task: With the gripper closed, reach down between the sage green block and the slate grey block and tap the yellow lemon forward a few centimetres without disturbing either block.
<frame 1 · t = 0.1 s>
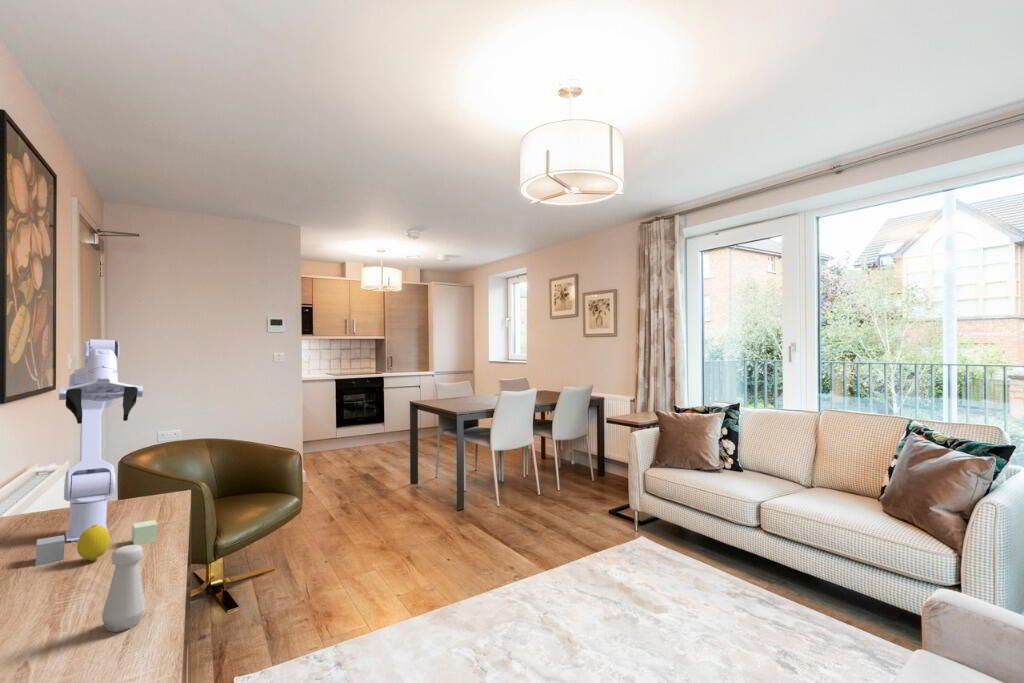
hand: (103, 419, 106), 32 cm above the sideboard, tool tilted 50°, fingers open, 7 cm apart
sage block: (144, 542, 120), on the sideboard
slate block: (49, 560, 108), on the sideboard
salt shaker: (123, 626, 82), on the sideboard
lemon: (92, 561, 108), on the sideboard
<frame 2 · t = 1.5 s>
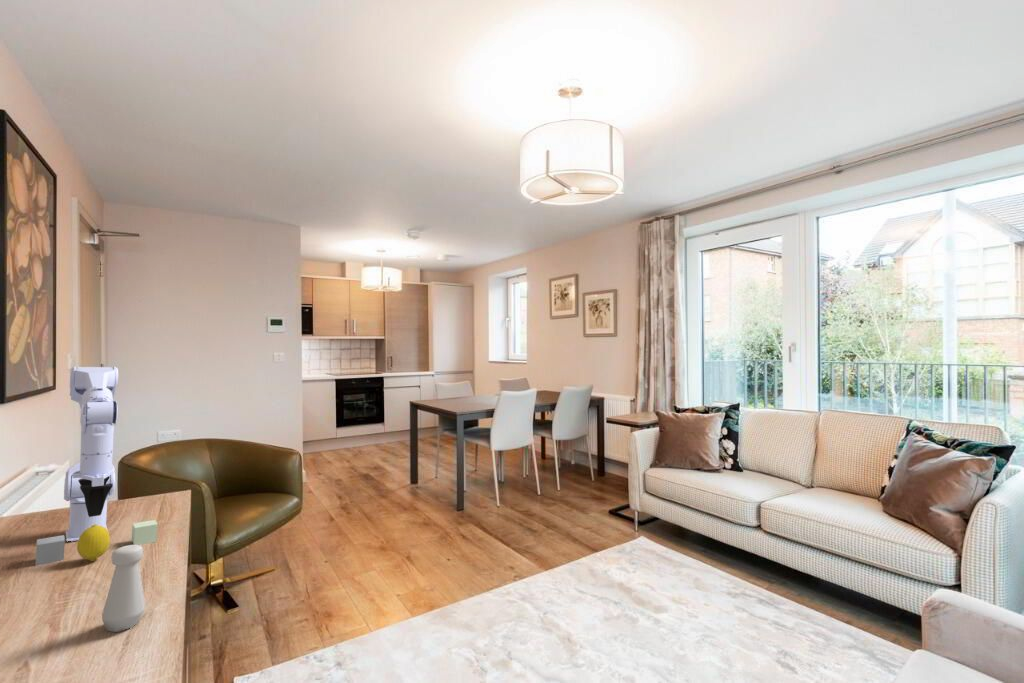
hand: (93, 512, 113), 9 cm above the sideboard, tool pointing down, fingers open, 7 cm apart
nothing on the sideboard moved.
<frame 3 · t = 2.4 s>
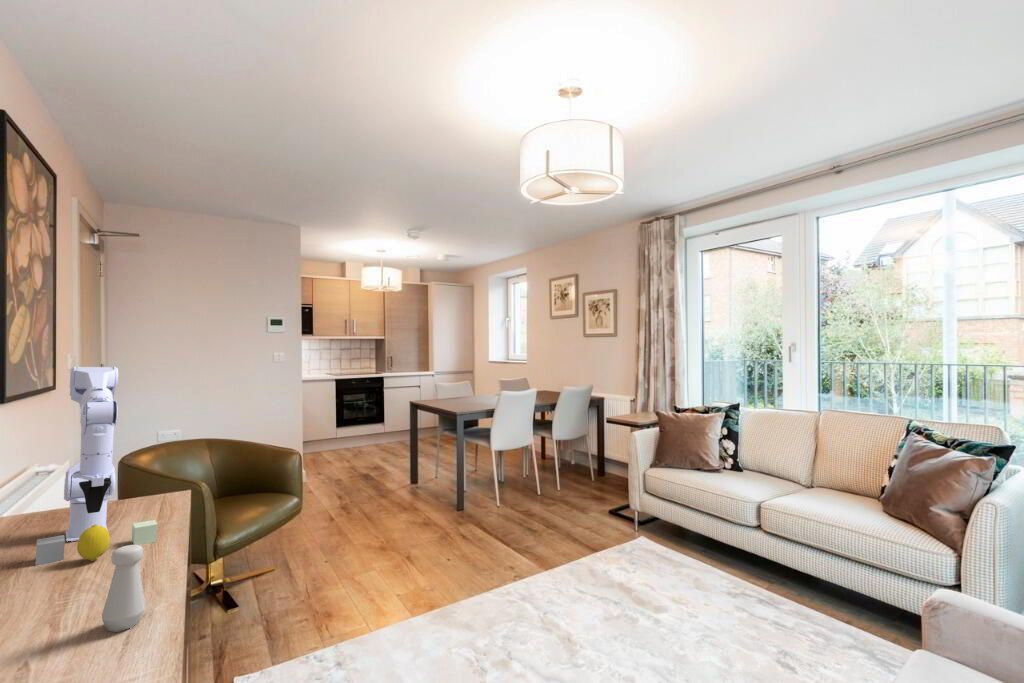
hand: (93, 512, 113), 9 cm above the sideboard, tool pointing down, fingers closed
nothing on the sideboard moved.
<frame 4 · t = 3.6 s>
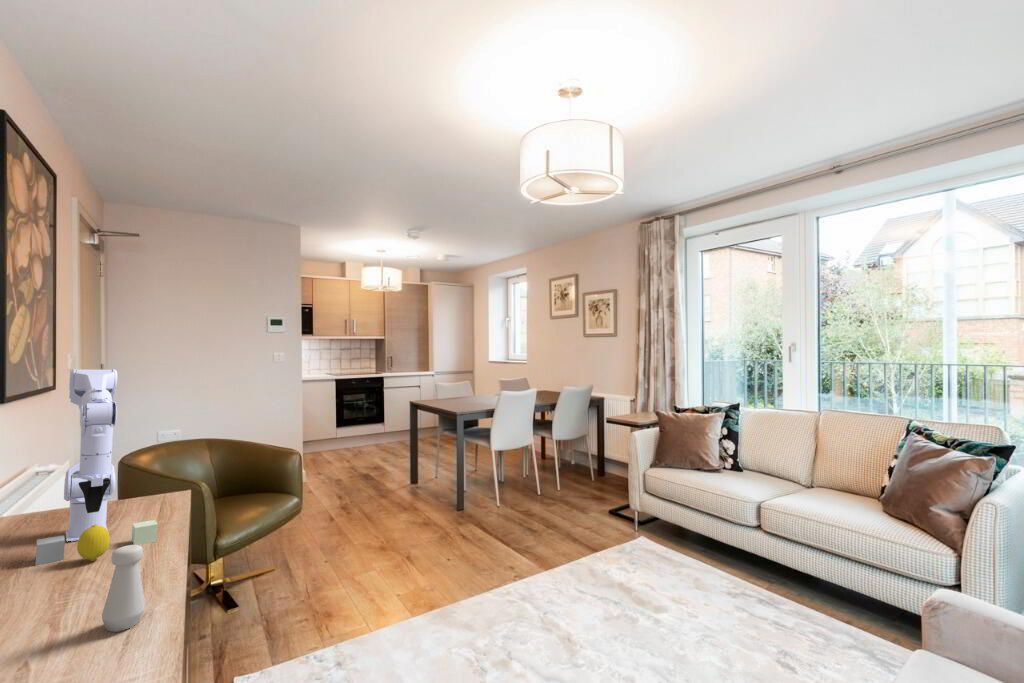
hand: (92, 511, 114), 9 cm above the sideboard, tool pointing down, fingers closed
nothing on the sideboard moved.
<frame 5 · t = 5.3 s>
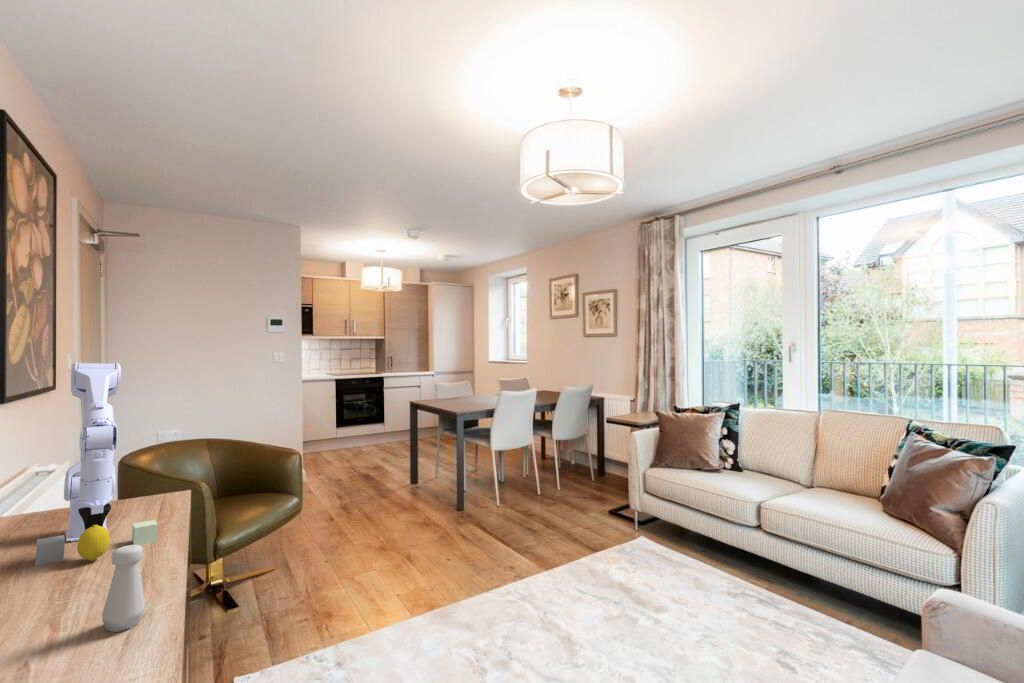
hand: (93, 538, 111), 4 cm above the sideboard, tool pointing down, fingers closed, pressing on lemon
lemon: (92, 562, 108), on the sideboard, touching gripper
everything else where it was.
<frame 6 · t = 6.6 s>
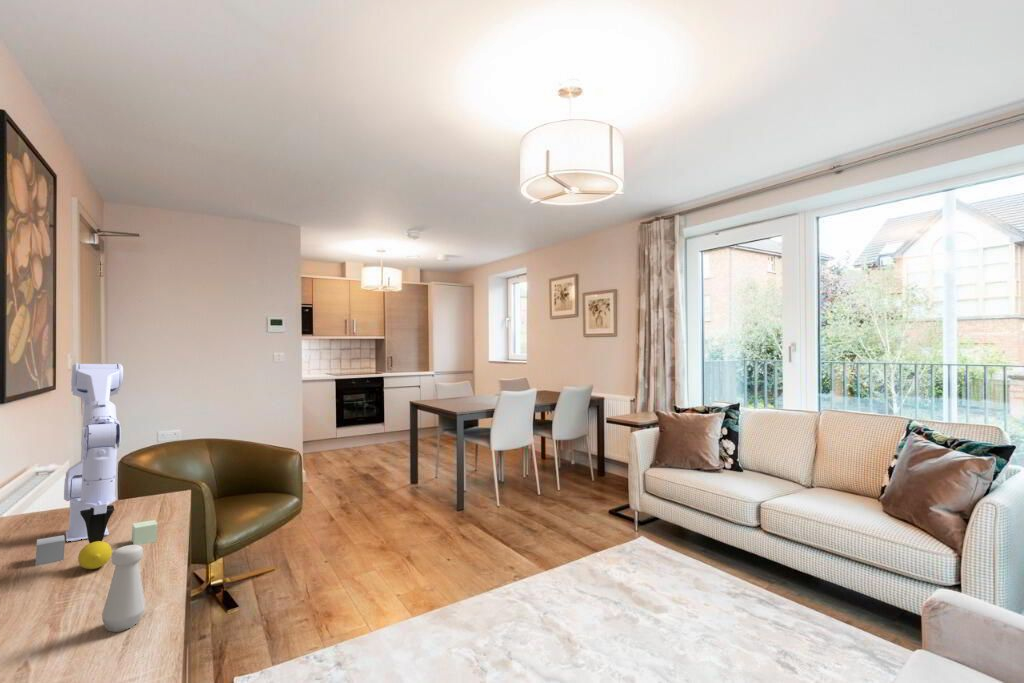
hand: (95, 542, 106), 5 cm above the sideboard, tool pointing down, fingers closed, pressing on lemon
lemon: (93, 553, 108), point 2 cm above the sideboard, touching gripper
everything else where it was.
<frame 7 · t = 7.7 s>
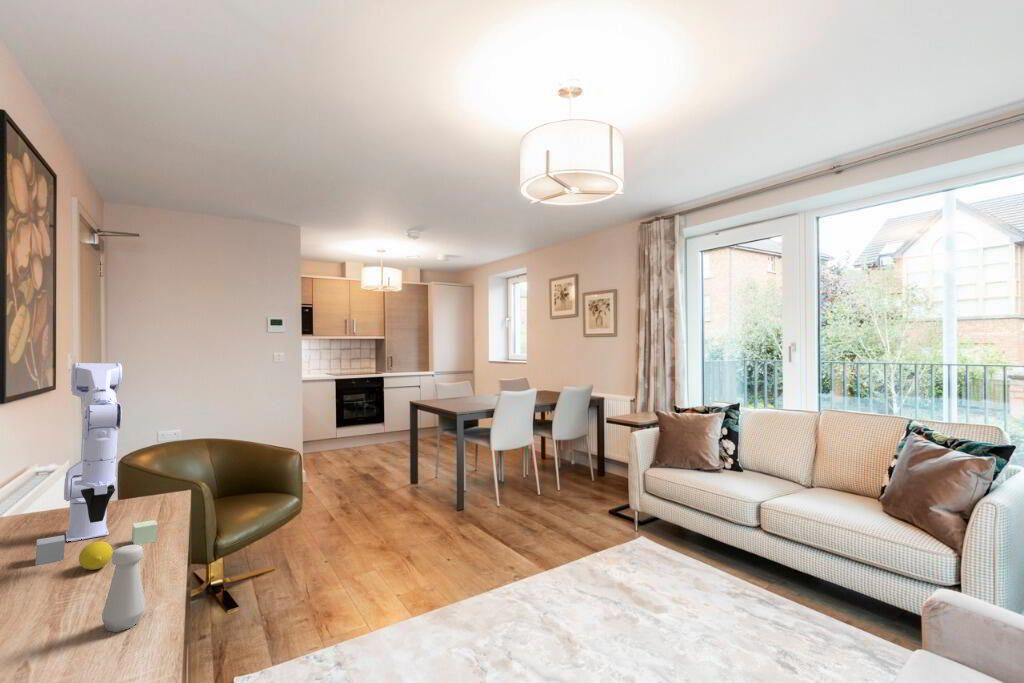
hand: (96, 521, 107), 9 cm above the sideboard, tool pointing down, fingers closed
lemon: (94, 551, 107), point 3 cm above the sideboard
everything else where it was.
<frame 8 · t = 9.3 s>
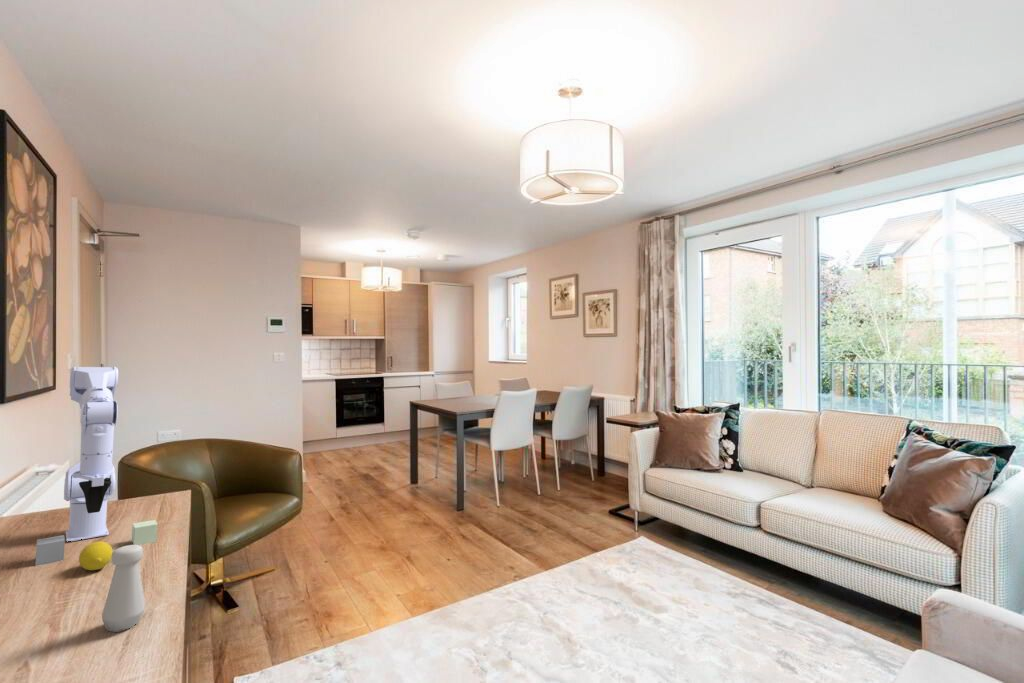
hand: (93, 512, 113), 9 cm above the sideboard, tool pointing down, fingers closed
nothing on the sideboard moved.
at the end: lemon moved 3.1 cm from its start; sage block moved 0.1 cm from its start; slate block moved 0.1 cm from its start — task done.
